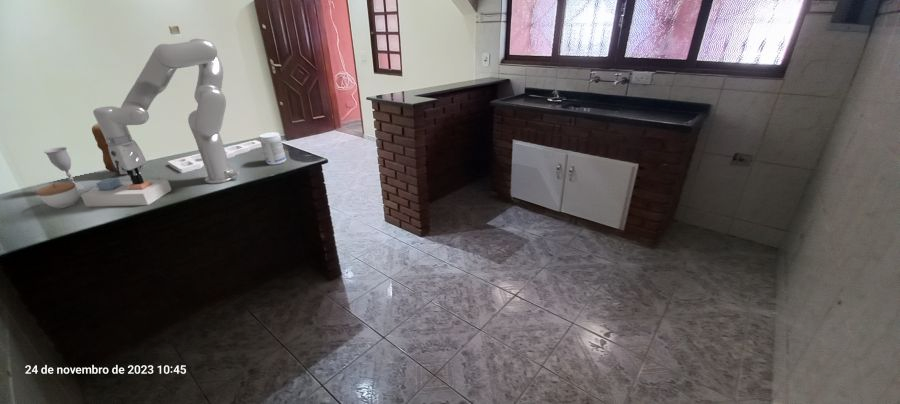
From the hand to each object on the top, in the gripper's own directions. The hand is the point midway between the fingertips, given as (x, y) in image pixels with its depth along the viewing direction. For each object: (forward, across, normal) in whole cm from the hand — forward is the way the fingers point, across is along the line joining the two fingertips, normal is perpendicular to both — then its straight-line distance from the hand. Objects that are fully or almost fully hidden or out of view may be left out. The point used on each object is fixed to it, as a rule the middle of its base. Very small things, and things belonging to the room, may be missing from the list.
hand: (138, 183), depth 144 cm
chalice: (+7, +11, +38) cm, 40 cm away
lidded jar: (+7, -5, +28) cm, 29 cm away
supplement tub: (+7, +40, -38) cm, 56 cm away
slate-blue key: (+2, 0, +12) cm, 12 cm away
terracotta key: (+3, 0, 0) cm, 3 cm away
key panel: (+7, 0, +6) cm, 9 cm away
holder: (+7, +50, -5) cm, 51 cm away
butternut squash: (+7, +29, +29) cm, 42 cm away
